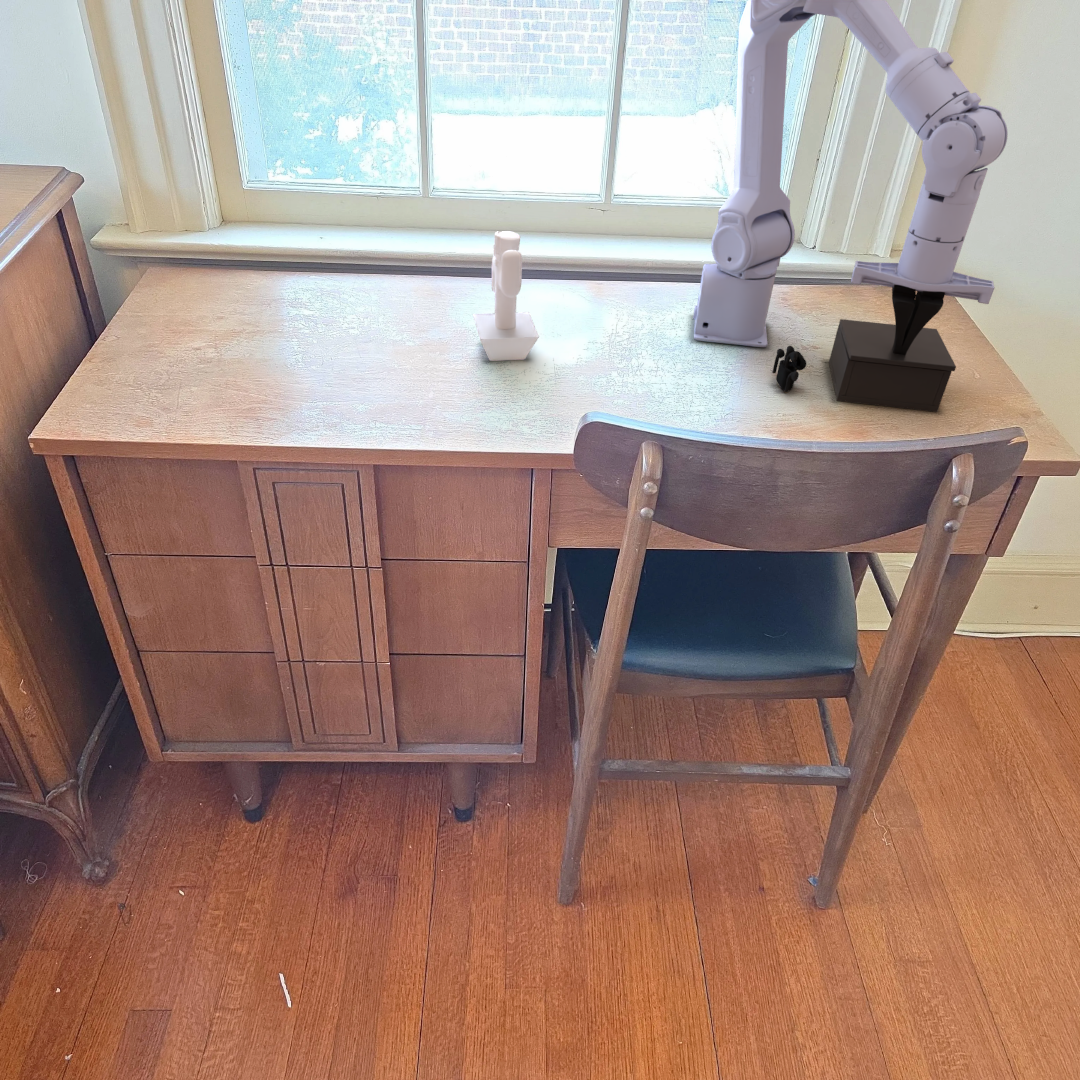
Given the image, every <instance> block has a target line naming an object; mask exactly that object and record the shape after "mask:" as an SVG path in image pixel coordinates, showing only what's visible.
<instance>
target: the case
mask: <svg viewBox="0 0 1080 1080" xmlns="http://www.w3.org/2000/svg"><path fill="white" fill-rule="evenodd" d="M828 366H829V371H830V375H831V380H832V385H833V390H834V394H835V398H836V401H837V402H844V403H851V404H863V405H869V406H870V405H871V406H879V407H889V408H898V409H905V410H906V409H907V410H915V411H916V410H917V411H923V412H924V411H925V412H932V413H938V411H939V408H940V406H941V403H942V399H943V397H944V394H945V392H946V388H947V386H948V383H949V380H950V378H951V375H952V372H953V371H947V370H938V369H929V368H919V367H910V366H901V365H891V364H882V363H873V362H863V361H854V360H850V358H849V355H848V352H847V348H846V345H845V341H844V338H843V335H842V331H841V328H840V324H839V323H838V326H837V330H836V333H835V337H834V342H833V345H832V348H831V352H830V356H829V360H828Z"/></svg>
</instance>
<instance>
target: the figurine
mask: <svg viewBox="0 0 1080 1080" xmlns="http://www.w3.org/2000/svg"><path fill="white" fill-rule="evenodd" d="M493 239H494V241H493V242H494V243H493V256H492V259H491V291H492V292H493V293H494V312H492V313H491V312H490V313H489V312H488V313H487V312H486V313H484V312H483V313H472V317H473V322H474V324H475V328H476V331H477V334H478V338H479V341H480V343H481V345H482V348H483V349H484V351H485V354H486V356H487V357H488V360H489V362H500V361H501V362H502V361H520V360H526V358H527V356H528V355H529V353H530V352H531V350H532V349H533V347H534V346H535V344H536V343H537V341H538V339H539V338H540V335H539V332H538V330H537V328H536V325H535V323H534V321H533V319H532V315H531V313H530V311H517V296H518V295H519V294H520V292H521V289H522V282H523V281H522V280H523V279H522V277H523V275H522V273H523V255H522V253H521V252H520V251H519V250H520V244H521V243H520V242H521V236H520V234H519V233H517V232H514V231H511V230H504V231H499V230H498V231H496V232H494V238H493Z"/></svg>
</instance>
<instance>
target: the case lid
mask: <svg viewBox="0 0 1080 1080" xmlns="http://www.w3.org/2000/svg"><path fill="white" fill-rule="evenodd" d="M839 324H840V328H841V331H842V335H843V338H844V341H845V345H846V348H847V352H848V355H849V358H850V360H854V361H863V362H873V363H882V364H891V365H901V366H910V367H919V368H929V369H938V370H947V371H952V372H955V371H956V368H957V365H956V364H955V361H954V360H953V358H952V356H951V354H950V352H949V350H948V348H947V346H946V343H945V342H944V341H943V339H942V336H941V335H940V333H939V330H938V329H937V328H930V327H923V328H922V330H921V331H920V332H919V333H918V335H917V336H916V338H915V339H914V341H913V342H912V344H911V345H910V347H909V349H908V351H907V353H906V355H901V354H895V353H893V344H894V339H895V331H896V324H891V323H882V322H873V321H872V322H871V321H864V320H853V319H843V318H840V319H839V323H838V325H839Z"/></svg>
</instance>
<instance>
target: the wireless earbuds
mask: <svg viewBox="0 0 1080 1080" xmlns="http://www.w3.org/2000/svg"><path fill="white" fill-rule="evenodd" d="M780 359H781V360H780ZM806 366H807V360H806V359H805V357H804V356H803V354H802V353H801V352H800V351H799V350H795V347H793V346H792V345H787V346H786V352H785V350H784V349H783V348H778V349H777V350H776V356H775V357H774V363H773V367H772V371H771V373H772V374H776V377H775V381H776V383H777V384H778V386H779V388H780V389H781V390H782V391H783V392H784V393H785V394H788V393H789V392H790V391H791V390H792V389H793V387H794V384H795V382H797V381H798V380H799V376H800V372H798V371H802V370H805V368H806Z"/></svg>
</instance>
